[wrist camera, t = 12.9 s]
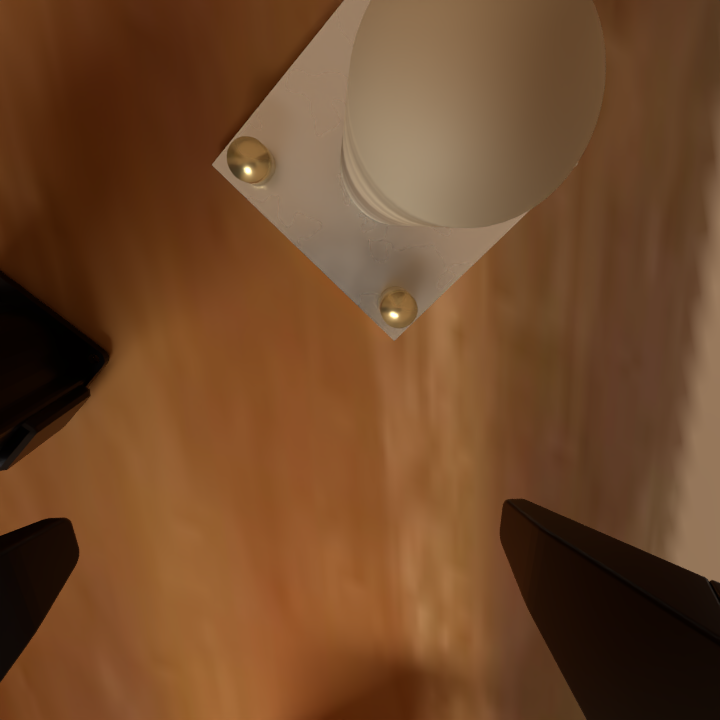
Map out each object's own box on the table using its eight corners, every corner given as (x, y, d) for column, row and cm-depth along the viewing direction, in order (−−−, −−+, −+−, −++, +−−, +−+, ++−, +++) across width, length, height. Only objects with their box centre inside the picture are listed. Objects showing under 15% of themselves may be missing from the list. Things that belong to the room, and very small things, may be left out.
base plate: (217, 167, 18) (199, 159, 16) (399, -59, 16) (409, -106, 13) (392, 336, 21) (398, 350, 18) (568, 165, 19) (600, 158, 16)
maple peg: (336, 220, 18) (338, 216, 8) (345, 87, 16) (360, -97, 7) (448, 230, 18) (570, 238, 9) (467, 102, 17) (638, -53, 7)
